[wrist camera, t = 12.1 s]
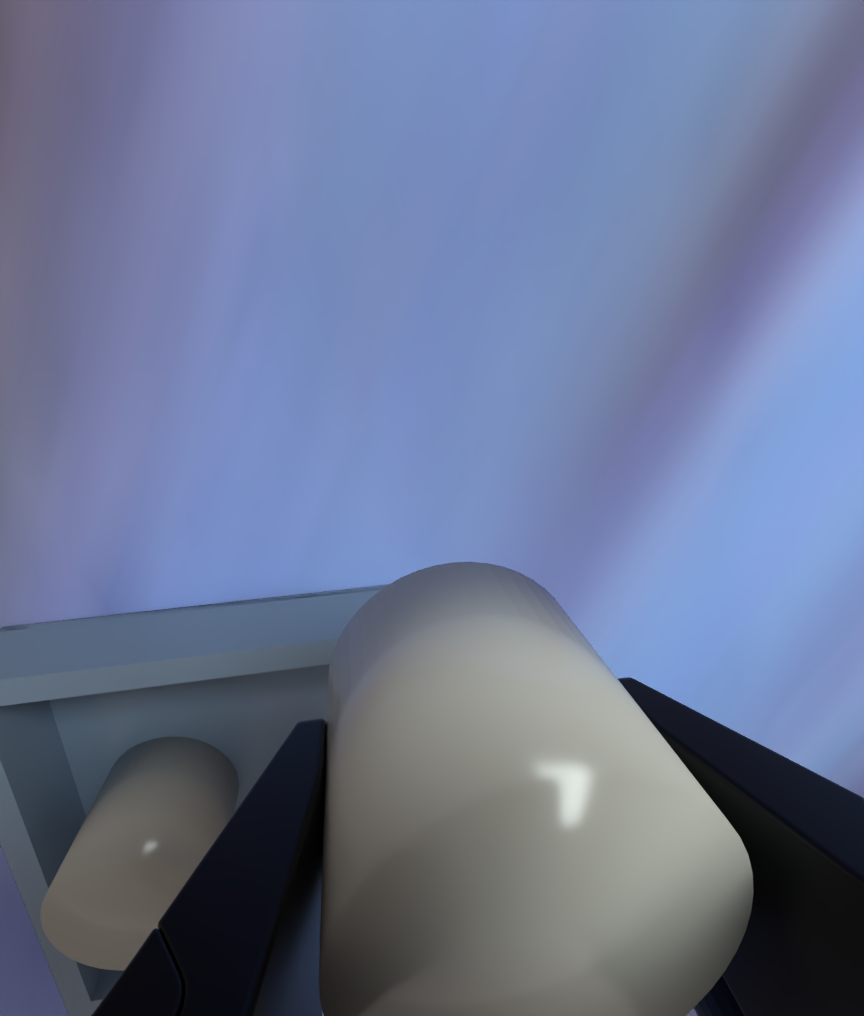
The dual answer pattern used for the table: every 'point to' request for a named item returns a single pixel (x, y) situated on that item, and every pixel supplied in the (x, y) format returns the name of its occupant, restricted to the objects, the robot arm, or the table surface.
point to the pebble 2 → (509, 819)
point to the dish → (145, 717)
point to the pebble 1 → (138, 848)
